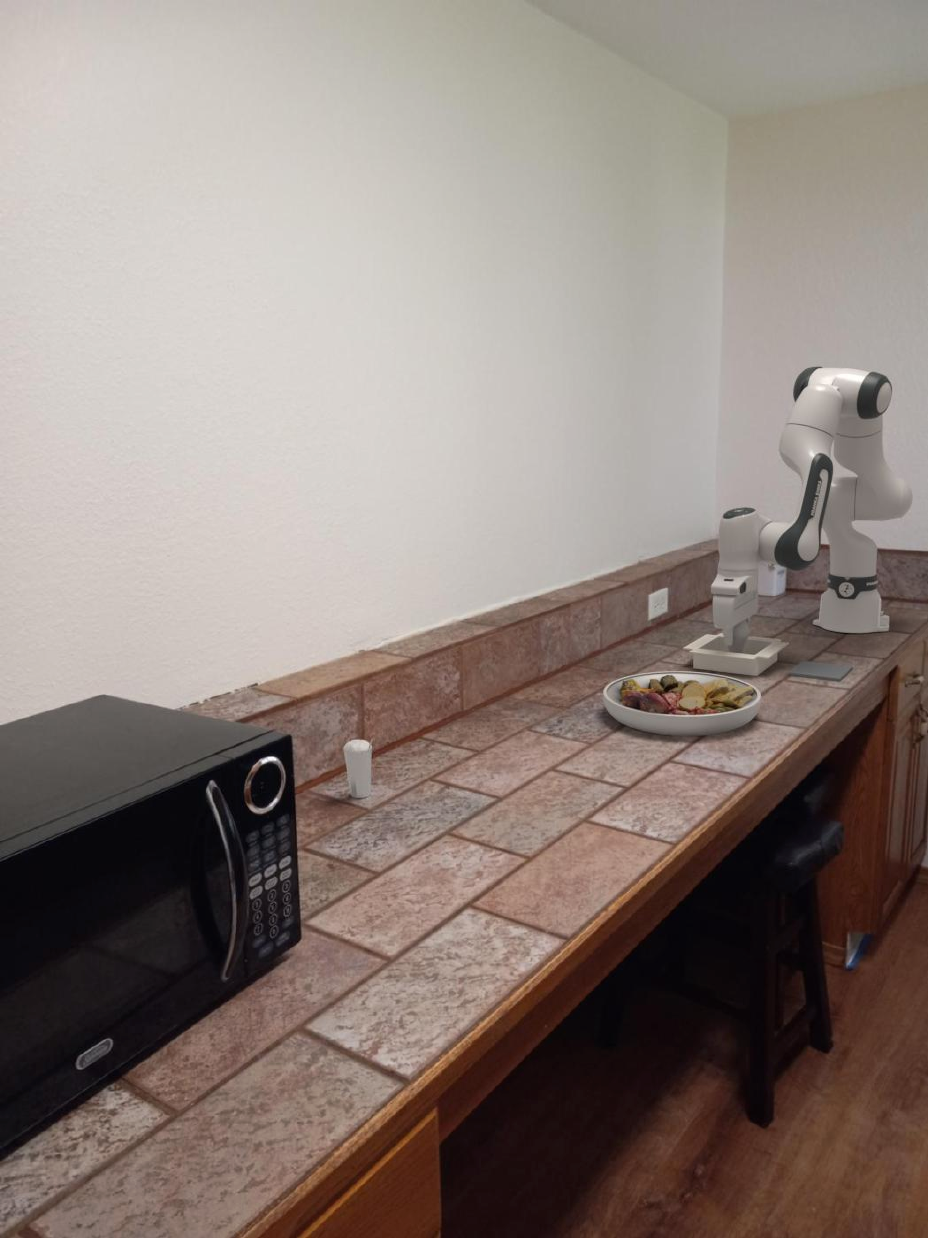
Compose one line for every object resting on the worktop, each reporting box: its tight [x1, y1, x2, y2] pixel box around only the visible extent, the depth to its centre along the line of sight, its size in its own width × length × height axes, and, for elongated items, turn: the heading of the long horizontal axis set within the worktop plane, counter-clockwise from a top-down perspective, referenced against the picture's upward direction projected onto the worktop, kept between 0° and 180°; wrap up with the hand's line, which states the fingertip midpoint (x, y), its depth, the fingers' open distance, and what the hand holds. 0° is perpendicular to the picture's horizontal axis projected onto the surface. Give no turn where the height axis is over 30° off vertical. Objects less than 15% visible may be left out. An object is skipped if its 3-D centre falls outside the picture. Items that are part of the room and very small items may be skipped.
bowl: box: [602, 670, 762, 737], centre depth 193 cm, size 30×30×8 cm
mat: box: [787, 660, 854, 682], centre depth 219 cm, size 11×11×1 cm
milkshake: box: [343, 738, 374, 799], centre depth 159 cm, size 4×5×10 cm
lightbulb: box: [728, 620, 751, 654], centre depth 226 cm, size 6×6×11 cm
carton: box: [682, 632, 790, 677], centre depth 227 cm, size 20×20×4 cm
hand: (736, 640), depth 226 cm, fingers open, 8 cm apart
